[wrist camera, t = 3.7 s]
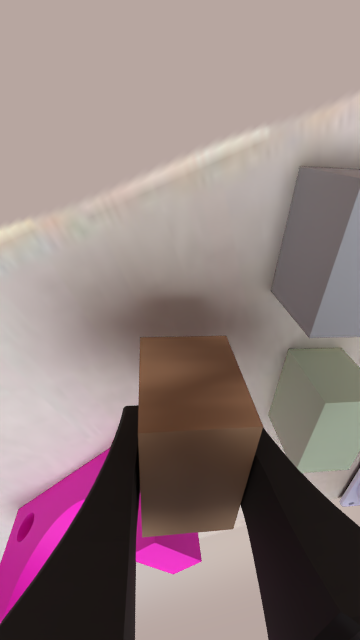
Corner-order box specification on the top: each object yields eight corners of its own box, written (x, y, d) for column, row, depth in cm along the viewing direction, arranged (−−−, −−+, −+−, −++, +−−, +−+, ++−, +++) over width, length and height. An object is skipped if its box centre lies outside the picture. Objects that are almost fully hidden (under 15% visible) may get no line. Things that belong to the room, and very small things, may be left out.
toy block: (79, 528, 28) (59, 645, 21) (19, 506, 25) (-24, 634, 18) (205, 454, 23) (227, 571, 17) (151, 417, 21) (154, 542, 14)
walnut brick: (226, 335, 12) (263, 426, 8) (211, 431, 15) (233, 529, 11) (140, 337, 12) (137, 433, 8) (143, 435, 15) (142, 537, 11)
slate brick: (372, 169, 13) (463, 183, 10) (330, 290, 16) (386, 336, 13) (298, 166, 13) (362, 178, 9) (270, 290, 16) (309, 337, 12)
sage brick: (340, 346, 19) (389, 400, 15) (313, 411, 22) (348, 469, 18) (287, 348, 18) (325, 403, 15) (267, 414, 22) (294, 473, 18)
